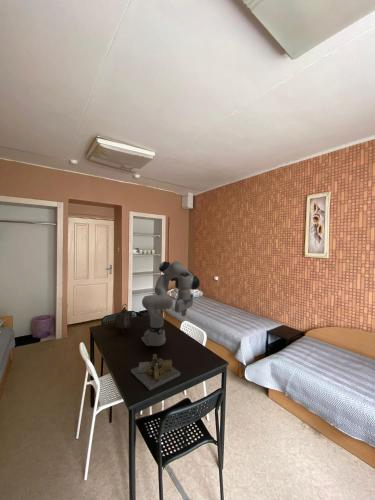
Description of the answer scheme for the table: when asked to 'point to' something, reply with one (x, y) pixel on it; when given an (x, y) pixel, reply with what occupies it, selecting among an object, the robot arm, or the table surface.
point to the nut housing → (149, 379)
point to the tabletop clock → (124, 319)
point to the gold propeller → (155, 367)
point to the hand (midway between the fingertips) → (183, 315)
